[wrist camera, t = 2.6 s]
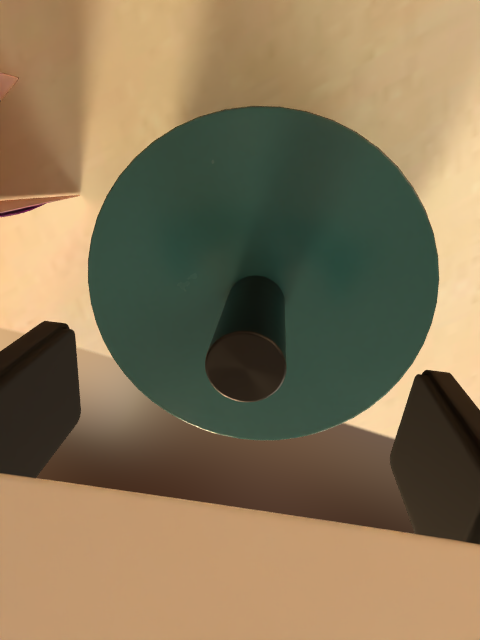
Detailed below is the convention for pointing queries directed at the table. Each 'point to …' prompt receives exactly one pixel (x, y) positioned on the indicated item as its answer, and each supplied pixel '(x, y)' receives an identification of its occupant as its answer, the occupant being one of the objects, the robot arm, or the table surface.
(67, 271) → the table surface
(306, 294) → the lid
